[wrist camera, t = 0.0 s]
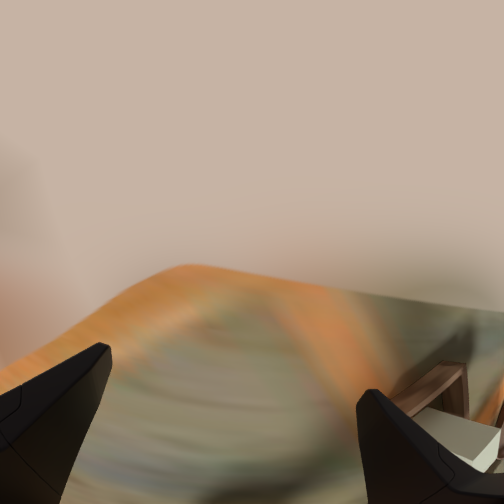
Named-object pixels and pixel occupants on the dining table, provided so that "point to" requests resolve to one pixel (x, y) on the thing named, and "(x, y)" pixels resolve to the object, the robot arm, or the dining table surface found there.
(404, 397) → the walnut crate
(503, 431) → the plant saucer
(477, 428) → the sage block
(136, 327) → the dining table surface
